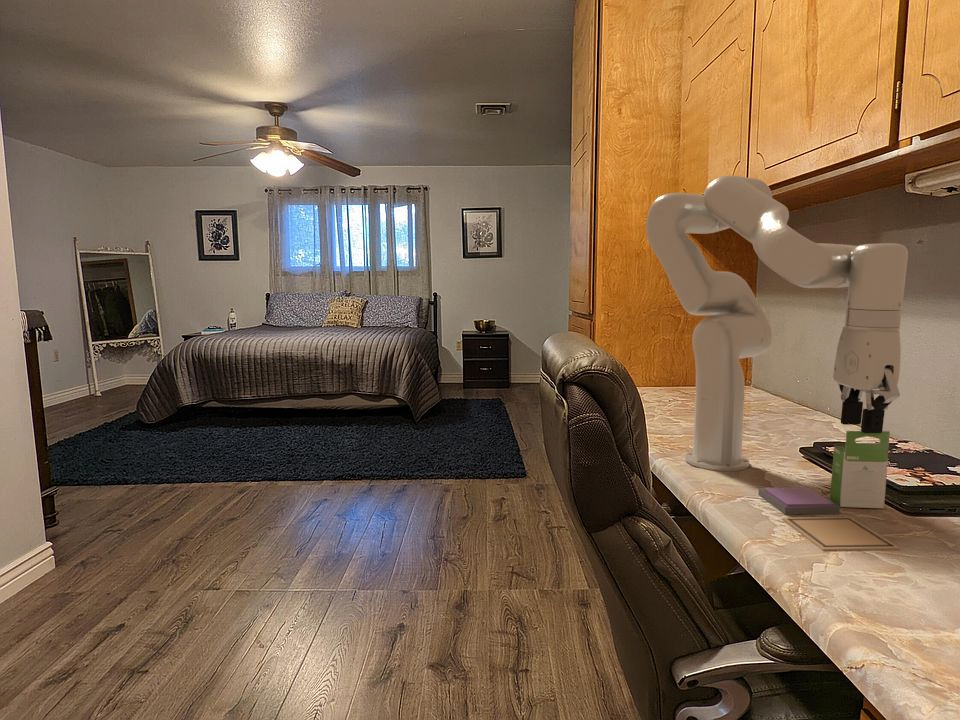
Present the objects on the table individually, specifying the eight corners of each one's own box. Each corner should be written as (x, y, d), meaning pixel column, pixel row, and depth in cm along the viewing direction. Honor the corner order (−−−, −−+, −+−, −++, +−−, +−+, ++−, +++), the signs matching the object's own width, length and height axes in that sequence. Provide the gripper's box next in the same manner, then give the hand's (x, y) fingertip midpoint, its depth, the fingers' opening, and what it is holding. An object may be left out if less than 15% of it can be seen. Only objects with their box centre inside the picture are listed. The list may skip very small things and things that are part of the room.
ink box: (872, 501, 100) (878, 425, 98) (884, 509, 96) (891, 431, 95) (829, 499, 101) (834, 424, 100) (839, 508, 97) (845, 430, 96)
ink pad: (758, 494, 104) (758, 486, 104) (808, 493, 104) (808, 486, 104) (784, 514, 95) (785, 505, 95) (839, 513, 95) (840, 505, 95)
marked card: (782, 519, 93) (782, 517, 93) (850, 518, 93) (850, 516, 93) (822, 550, 82) (823, 548, 82) (899, 549, 82) (900, 547, 82)
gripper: (819, 316, 103) (809, 415, 106) (885, 325, 86) (872, 443, 89) (861, 316, 103) (850, 415, 106) (935, 325, 86) (920, 443, 89)
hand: (860, 427), depth 97 cm, fingers open, 4 cm apart
